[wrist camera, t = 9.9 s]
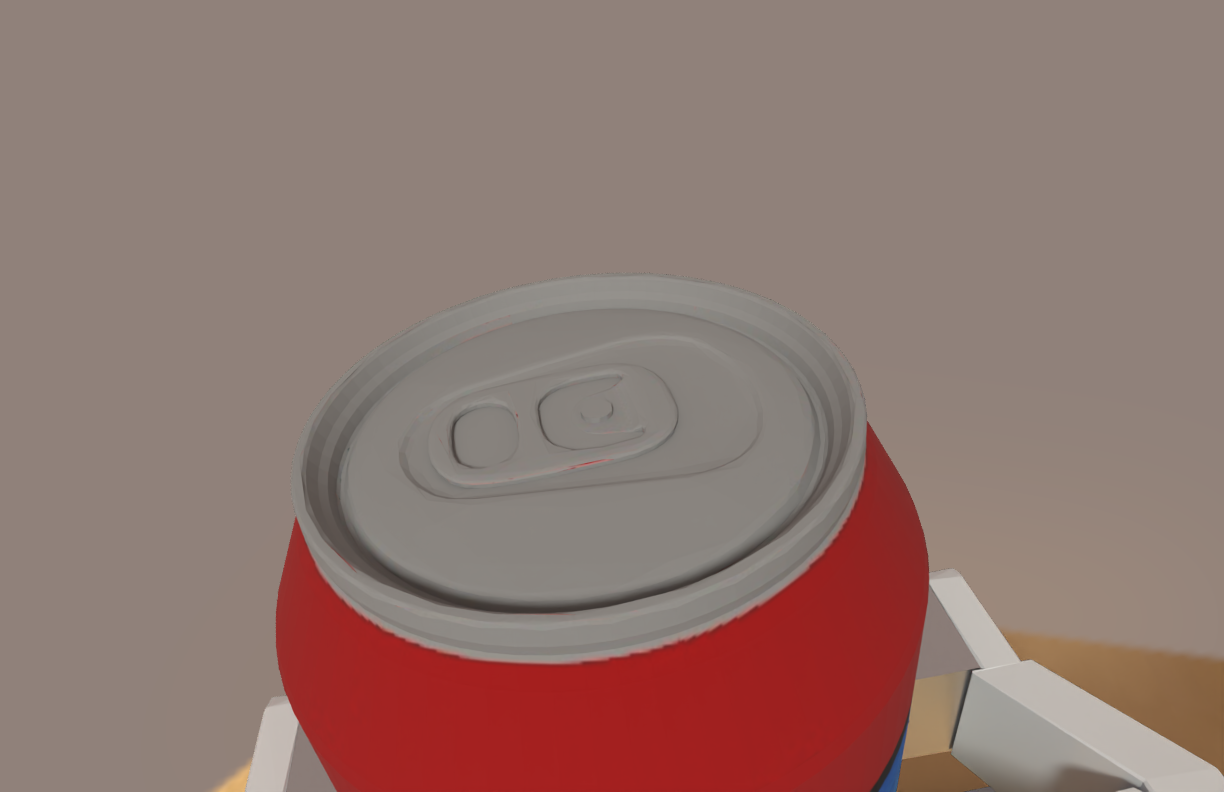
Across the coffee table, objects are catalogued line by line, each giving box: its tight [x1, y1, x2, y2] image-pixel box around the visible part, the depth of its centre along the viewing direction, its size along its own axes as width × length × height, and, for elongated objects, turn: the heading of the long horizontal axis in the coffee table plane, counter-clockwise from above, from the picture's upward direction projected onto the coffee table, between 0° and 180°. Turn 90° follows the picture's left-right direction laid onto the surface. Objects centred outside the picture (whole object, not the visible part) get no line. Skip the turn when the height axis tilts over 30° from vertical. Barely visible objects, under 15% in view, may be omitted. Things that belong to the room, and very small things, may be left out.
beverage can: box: [276, 273, 929, 792], centre depth 11 cm, size 7×7×12 cm
